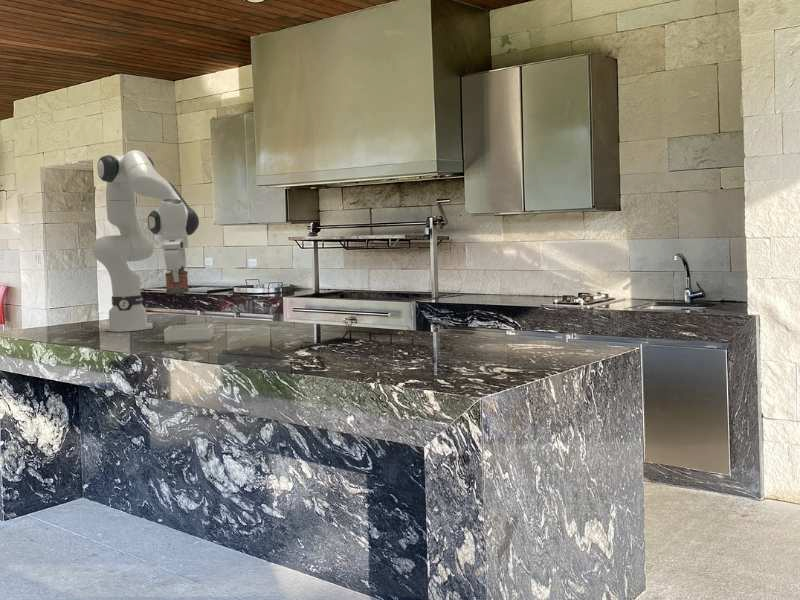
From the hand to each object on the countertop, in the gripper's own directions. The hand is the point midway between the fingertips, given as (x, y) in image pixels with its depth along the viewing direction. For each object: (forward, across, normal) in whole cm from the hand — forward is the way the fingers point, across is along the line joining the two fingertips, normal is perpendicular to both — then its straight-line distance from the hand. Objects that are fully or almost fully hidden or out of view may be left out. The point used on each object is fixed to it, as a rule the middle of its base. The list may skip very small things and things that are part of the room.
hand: (177, 281), depth 310 cm
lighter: (+4, +2, 0) cm, 5 cm away
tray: (+22, 0, +3) cm, 22 cm away
